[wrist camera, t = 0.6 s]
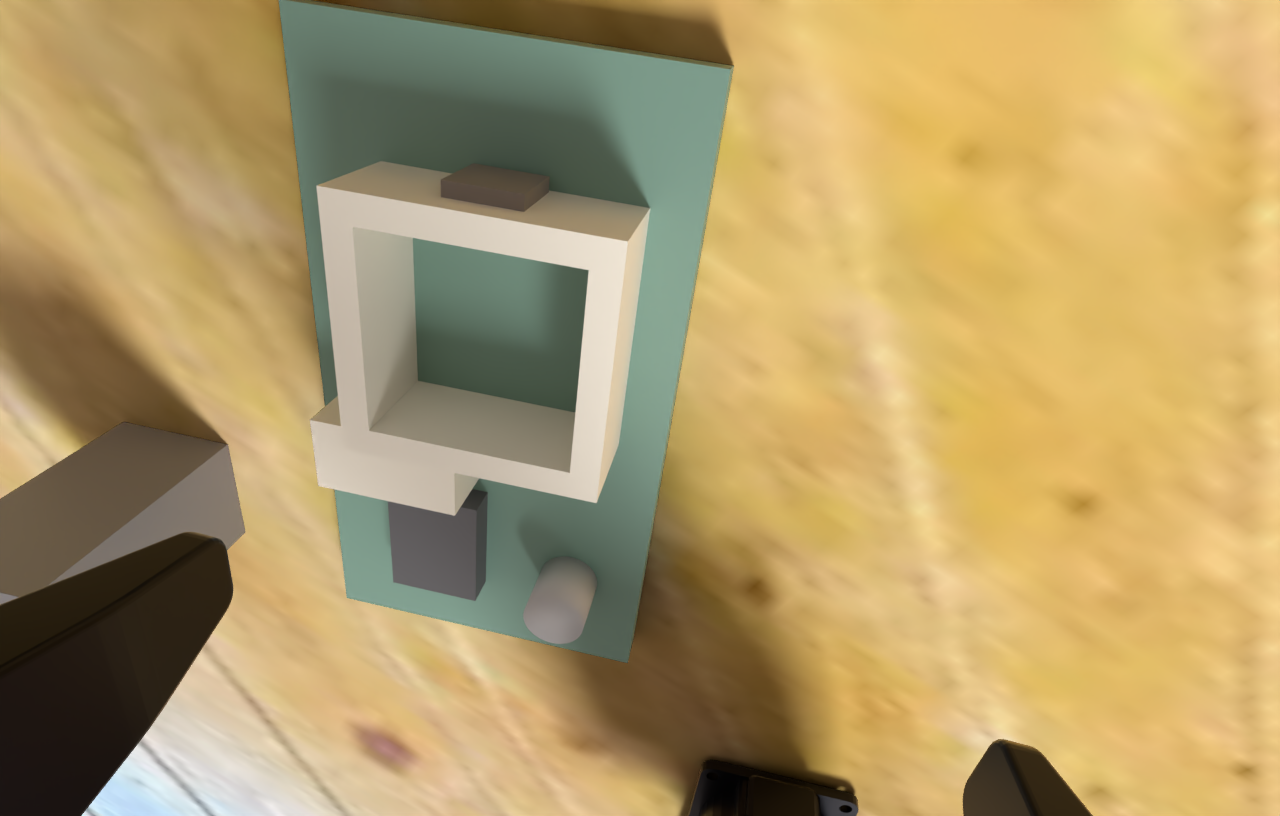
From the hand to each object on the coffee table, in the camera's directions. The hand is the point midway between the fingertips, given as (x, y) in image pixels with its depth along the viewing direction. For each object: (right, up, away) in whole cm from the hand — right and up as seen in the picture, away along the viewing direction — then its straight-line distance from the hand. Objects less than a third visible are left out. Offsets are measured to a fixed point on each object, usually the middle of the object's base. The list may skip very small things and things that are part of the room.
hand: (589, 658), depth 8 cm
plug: (-17, 0, +19) cm, 26 cm away
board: (-4, +4, +15) cm, 16 cm away
